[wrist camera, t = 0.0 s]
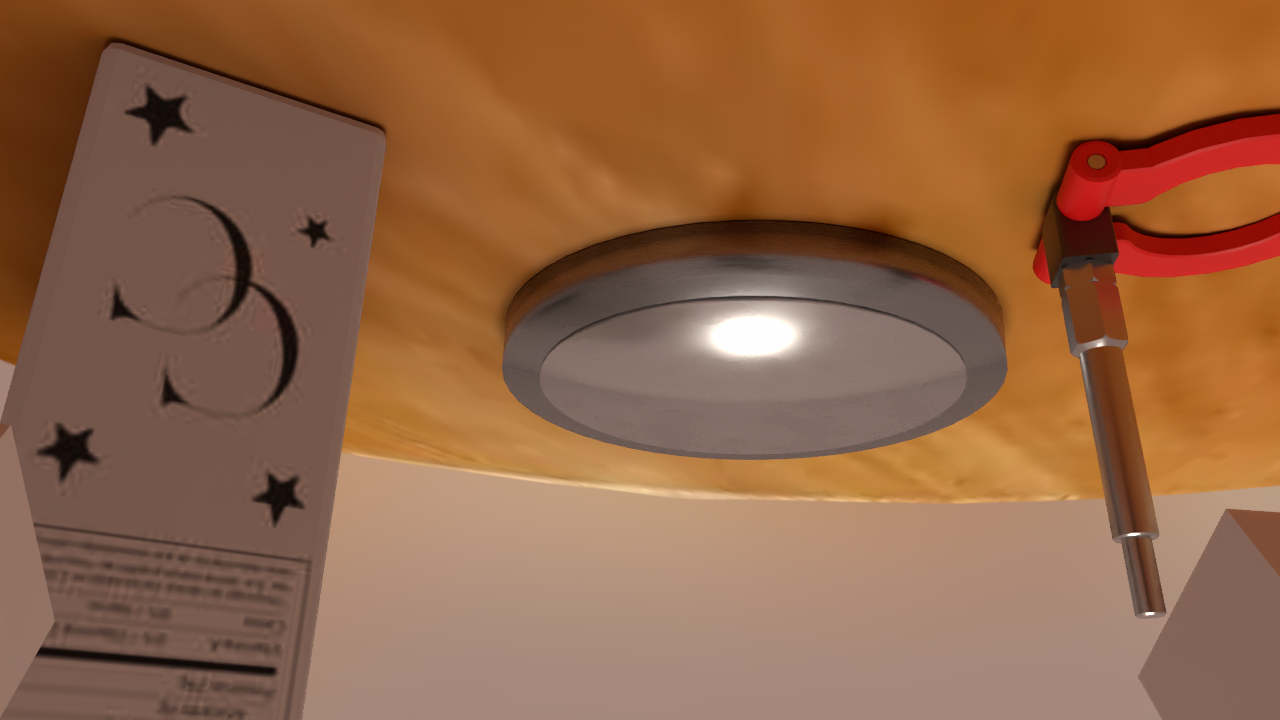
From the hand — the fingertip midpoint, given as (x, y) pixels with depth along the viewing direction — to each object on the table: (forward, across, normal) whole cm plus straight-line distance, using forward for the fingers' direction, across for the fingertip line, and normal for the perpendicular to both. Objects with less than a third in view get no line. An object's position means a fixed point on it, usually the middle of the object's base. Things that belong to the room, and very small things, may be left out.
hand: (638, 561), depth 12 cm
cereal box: (+26, -14, -10) cm, 31 cm away
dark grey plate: (+29, +8, -14) cm, 33 cm away
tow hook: (+21, +19, -2) cm, 28 cm away
